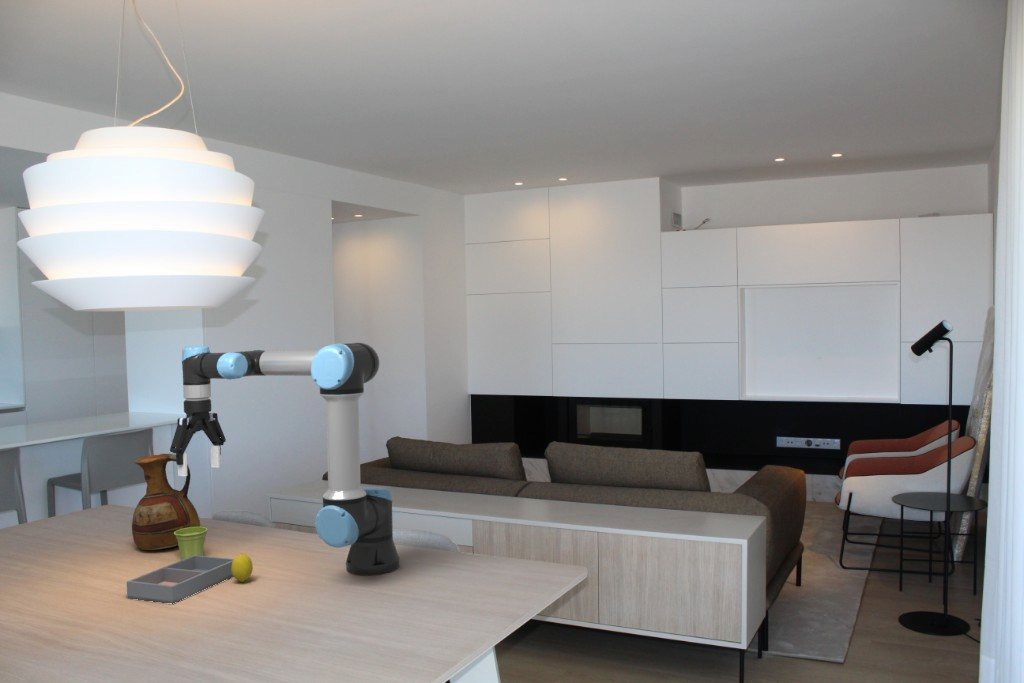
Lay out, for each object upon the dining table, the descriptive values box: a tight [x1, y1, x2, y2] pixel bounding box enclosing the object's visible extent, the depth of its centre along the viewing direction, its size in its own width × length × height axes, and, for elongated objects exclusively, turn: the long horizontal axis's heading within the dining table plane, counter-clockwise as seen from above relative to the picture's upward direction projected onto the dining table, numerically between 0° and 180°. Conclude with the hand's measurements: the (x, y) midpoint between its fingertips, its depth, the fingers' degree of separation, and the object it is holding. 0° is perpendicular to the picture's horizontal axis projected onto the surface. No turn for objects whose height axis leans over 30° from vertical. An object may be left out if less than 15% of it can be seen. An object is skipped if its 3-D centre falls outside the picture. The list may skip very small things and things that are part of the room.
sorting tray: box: [126, 555, 234, 605], centre depth 221 cm, size 15×25×4 cm, turn 159°
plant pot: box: [174, 526, 208, 561], centre depth 247 cm, size 9×9×9 cm
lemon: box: [231, 553, 254, 583], centre depth 223 cm, size 6×6×8 cm
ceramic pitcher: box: [131, 453, 201, 551], centre depth 262 cm, size 20×20×30 cm
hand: (199, 471), depth 238 cm, fingers open, 13 cm apart
